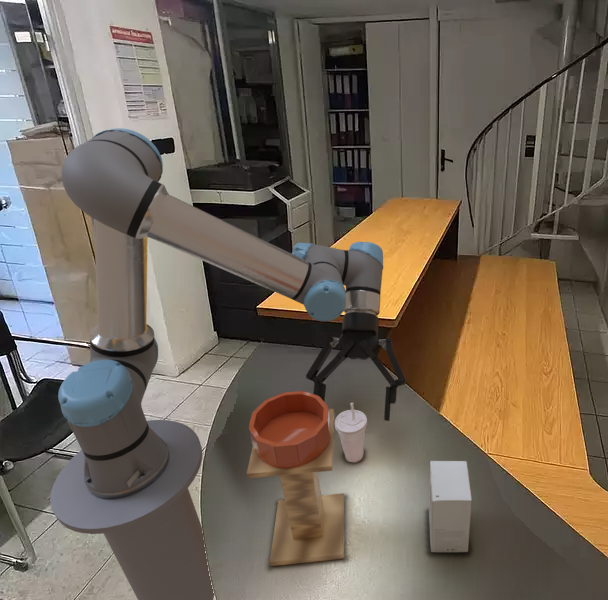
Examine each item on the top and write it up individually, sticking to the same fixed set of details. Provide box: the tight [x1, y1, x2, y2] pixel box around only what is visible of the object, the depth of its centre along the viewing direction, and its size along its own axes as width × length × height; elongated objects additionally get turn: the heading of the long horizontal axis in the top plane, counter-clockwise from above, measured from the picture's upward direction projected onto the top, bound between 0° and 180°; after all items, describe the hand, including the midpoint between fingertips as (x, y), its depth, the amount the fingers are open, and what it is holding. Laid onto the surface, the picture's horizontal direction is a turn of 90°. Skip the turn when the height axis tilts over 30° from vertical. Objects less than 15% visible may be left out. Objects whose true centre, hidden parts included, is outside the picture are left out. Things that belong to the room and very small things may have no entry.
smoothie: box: [334, 402, 368, 463], centre depth 96 cm, size 6×6×14 cm
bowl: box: [248, 390, 331, 468], centre depth 73 cm, size 11×11×4 cm
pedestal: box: [246, 408, 345, 567], centre depth 79 cm, size 12×12×22 cm
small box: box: [428, 460, 473, 553], centre depth 81 cm, size 8×6×13 cm
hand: (352, 418), depth 96 cm, fingers open, 13 cm apart
